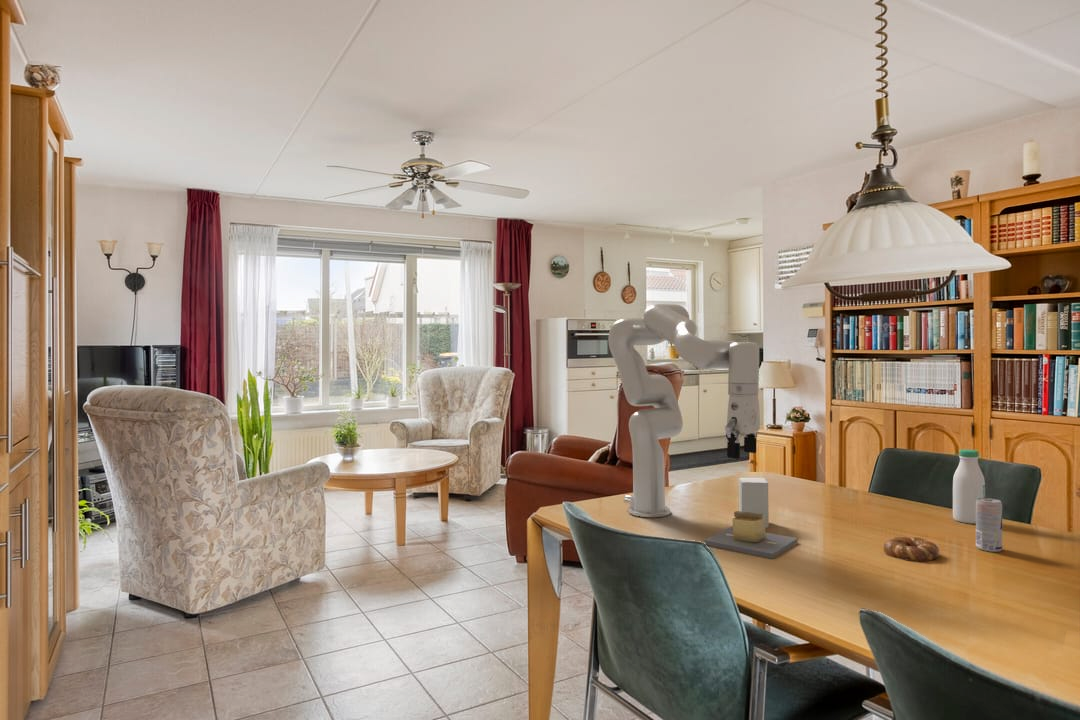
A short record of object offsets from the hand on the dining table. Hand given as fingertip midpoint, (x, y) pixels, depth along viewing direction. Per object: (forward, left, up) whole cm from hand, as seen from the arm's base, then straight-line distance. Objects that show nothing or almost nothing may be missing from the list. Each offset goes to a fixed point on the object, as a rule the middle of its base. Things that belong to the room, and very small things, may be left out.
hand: (741, 455), depth 173 cm
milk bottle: (+42, +55, -22) cm, 73 cm away
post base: (+3, -2, -22) cm, 23 cm away
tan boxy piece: (+3, -2, -21) cm, 21 cm away
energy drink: (+50, +29, -22) cm, 62 cm away
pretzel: (+36, +13, -23) cm, 45 cm away
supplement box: (-4, +16, -23) cm, 28 cm away
